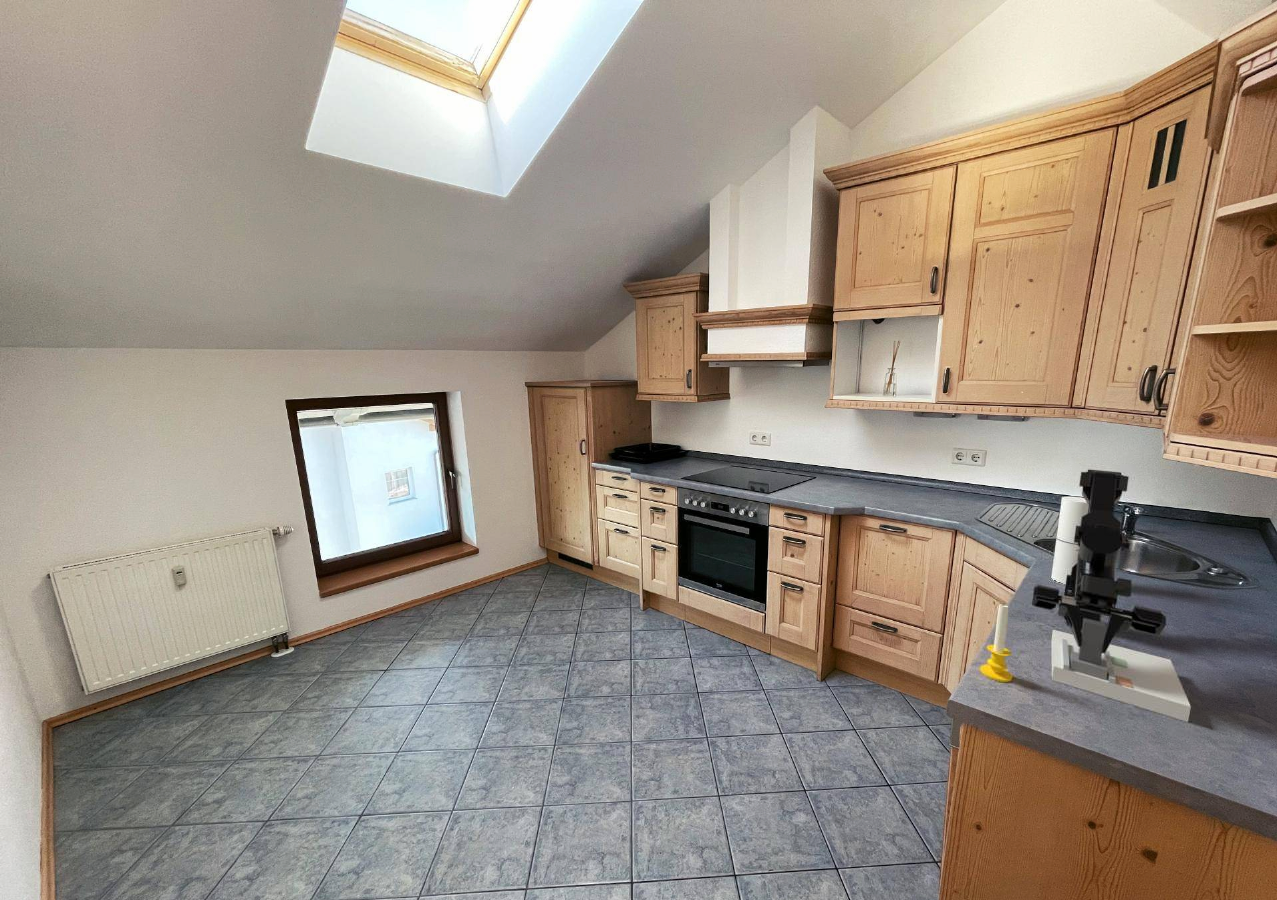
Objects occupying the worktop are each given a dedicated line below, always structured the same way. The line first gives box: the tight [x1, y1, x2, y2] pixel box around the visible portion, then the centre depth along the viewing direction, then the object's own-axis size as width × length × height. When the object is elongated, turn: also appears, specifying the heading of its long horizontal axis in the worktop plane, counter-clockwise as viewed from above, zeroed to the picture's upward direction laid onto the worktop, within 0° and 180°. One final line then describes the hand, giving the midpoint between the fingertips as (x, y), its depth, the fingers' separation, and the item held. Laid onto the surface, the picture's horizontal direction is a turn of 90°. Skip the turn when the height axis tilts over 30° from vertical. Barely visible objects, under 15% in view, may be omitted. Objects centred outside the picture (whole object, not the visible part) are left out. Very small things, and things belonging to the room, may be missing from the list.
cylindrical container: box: [1051, 496, 1089, 585], centre depth 137 cm, size 7×7×25 cm
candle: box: [979, 604, 1013, 683], centre depth 95 cm, size 5×5×16 cm
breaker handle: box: [1070, 618, 1108, 680], centre depth 91 cm, size 4×5×10 cm
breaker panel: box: [1050, 629, 1191, 723], centre depth 94 cm, size 18×18×4 cm
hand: (1091, 649), depth 90 cm, fingers closed on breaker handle, 3 cm apart
